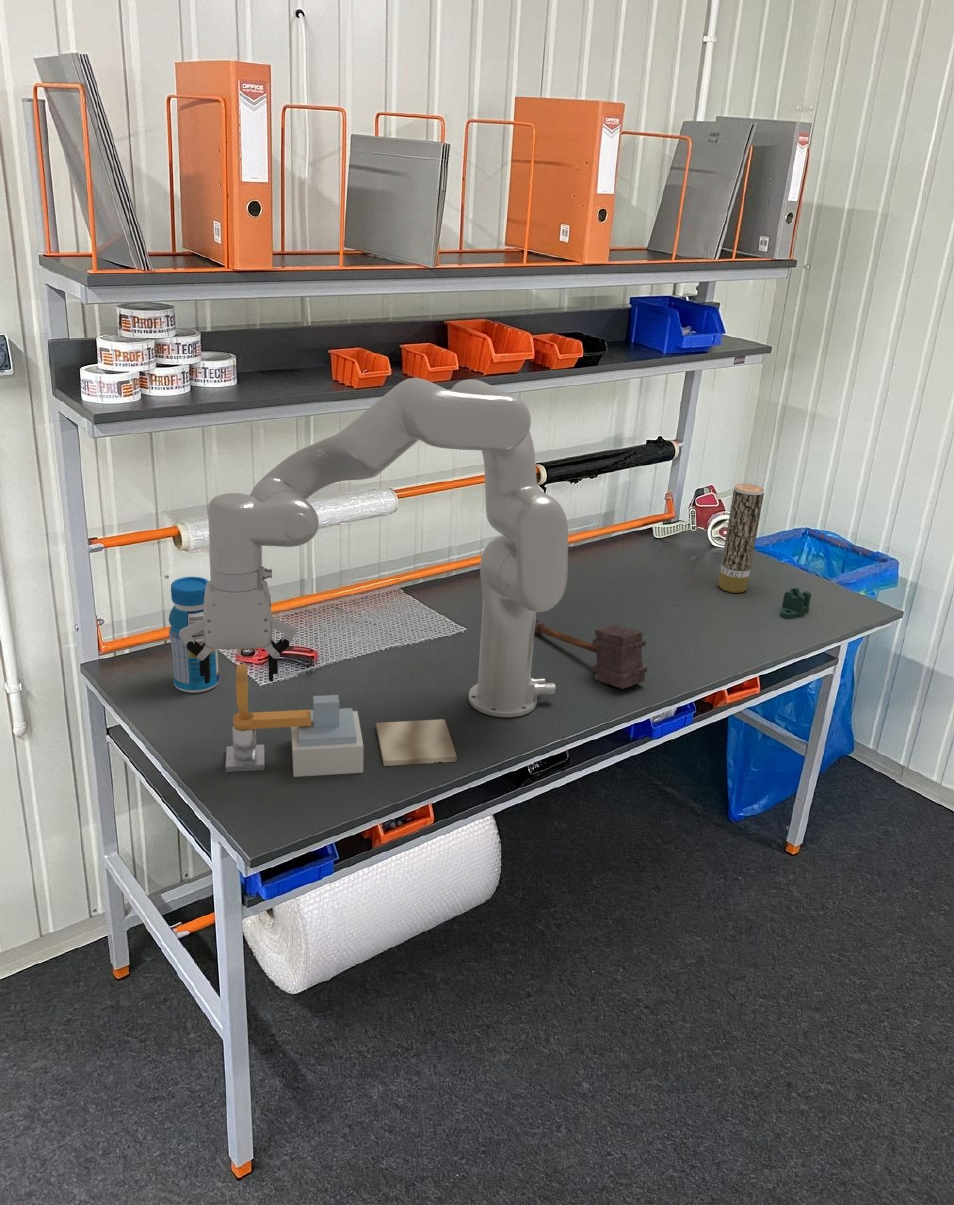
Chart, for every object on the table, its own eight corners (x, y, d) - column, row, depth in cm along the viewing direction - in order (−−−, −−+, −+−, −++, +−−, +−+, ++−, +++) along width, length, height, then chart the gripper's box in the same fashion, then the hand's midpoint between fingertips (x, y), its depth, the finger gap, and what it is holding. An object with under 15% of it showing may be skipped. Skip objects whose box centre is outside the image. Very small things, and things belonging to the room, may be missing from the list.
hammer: (623, 690, 190) (621, 639, 188) (514, 653, 216) (511, 608, 213) (648, 681, 194) (647, 631, 192) (538, 646, 220) (536, 602, 217)
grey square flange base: (264, 749, 168) (263, 715, 165) (264, 769, 162) (263, 734, 160) (226, 751, 166) (225, 717, 164) (225, 772, 161) (223, 736, 158)
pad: (444, 724, 178) (444, 719, 178) (456, 761, 167) (456, 756, 167) (376, 727, 176) (376, 722, 175) (383, 765, 165) (383, 760, 165)
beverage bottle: (164, 690, 184) (156, 588, 175) (186, 669, 191) (180, 571, 183) (207, 697, 182) (201, 595, 174) (228, 676, 190) (223, 577, 181)
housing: (357, 736, 173) (357, 711, 171) (363, 772, 163) (363, 745, 161) (291, 740, 171) (290, 714, 169) (293, 776, 161) (293, 749, 159)
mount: (792, 621, 227) (796, 601, 225) (774, 615, 230) (777, 595, 228) (814, 608, 235) (818, 588, 233) (796, 602, 237) (800, 583, 235)
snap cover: (351, 714, 170) (352, 684, 167) (356, 742, 162) (356, 711, 159) (297, 717, 168) (296, 686, 166) (299, 746, 160) (298, 714, 158)
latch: (309, 712, 166) (309, 661, 163) (311, 731, 161) (310, 679, 157) (233, 716, 164) (231, 664, 160) (233, 735, 159) (230, 682, 155)
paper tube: (724, 580, 247) (741, 481, 237) (751, 588, 244) (769, 488, 234) (713, 588, 242) (729, 488, 232) (740, 596, 239) (757, 494, 228)
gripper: (294, 567, 156) (295, 665, 163) (178, 568, 153) (183, 669, 160) (296, 586, 150) (296, 688, 156) (174, 587, 146) (180, 692, 153)
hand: (239, 678), depth 158 cm, fingers open, 9 cm apart
